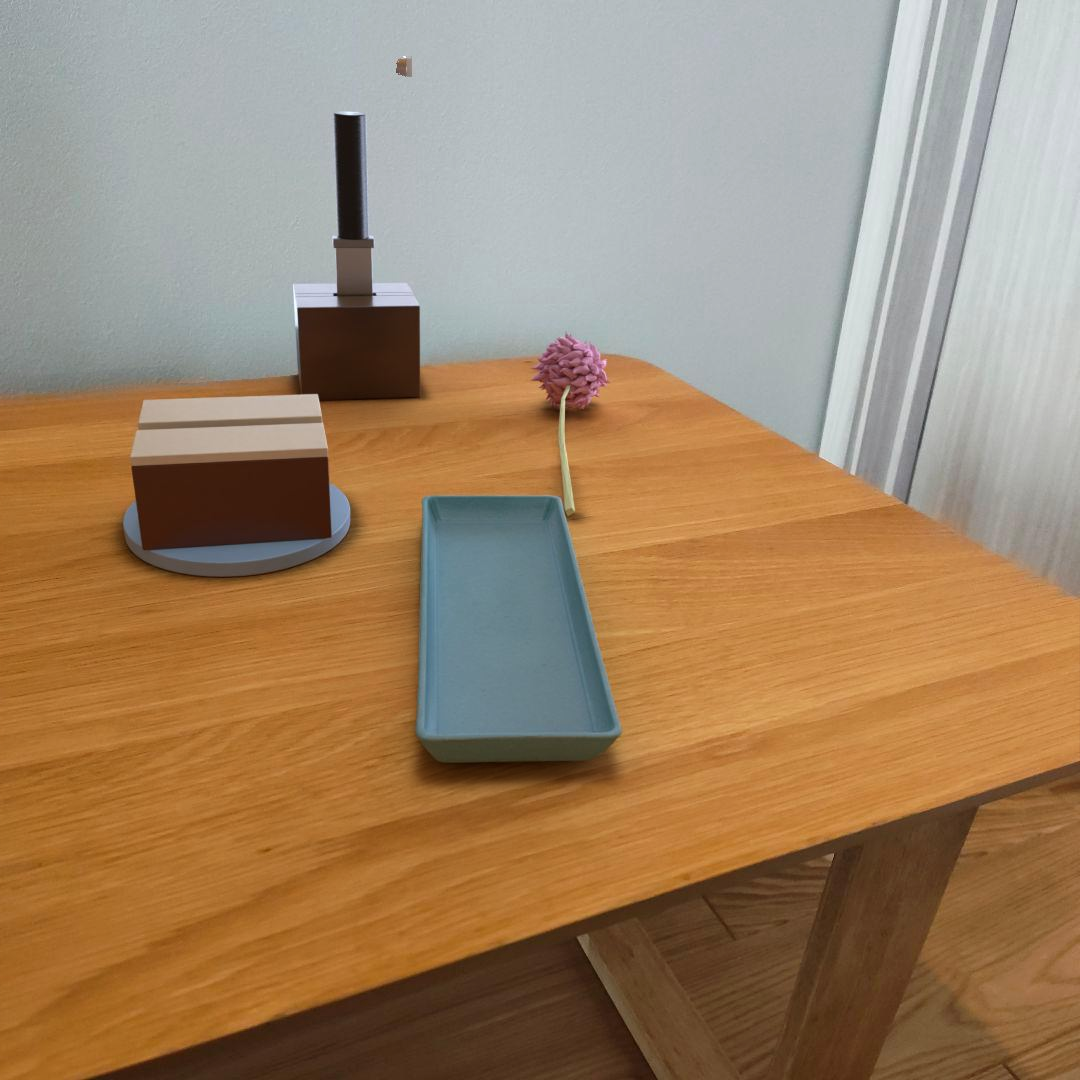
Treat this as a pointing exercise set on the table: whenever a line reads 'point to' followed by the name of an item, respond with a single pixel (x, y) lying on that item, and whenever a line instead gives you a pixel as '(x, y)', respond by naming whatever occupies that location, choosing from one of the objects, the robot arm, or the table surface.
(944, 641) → the table surface
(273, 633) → the table surface
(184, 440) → the cake
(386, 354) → the knife block
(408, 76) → the robot arm
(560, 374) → the artificial flower
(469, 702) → the teal serving tray
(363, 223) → the knife
